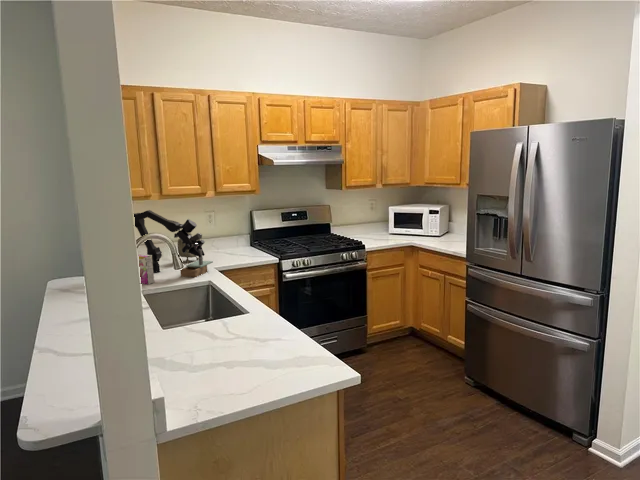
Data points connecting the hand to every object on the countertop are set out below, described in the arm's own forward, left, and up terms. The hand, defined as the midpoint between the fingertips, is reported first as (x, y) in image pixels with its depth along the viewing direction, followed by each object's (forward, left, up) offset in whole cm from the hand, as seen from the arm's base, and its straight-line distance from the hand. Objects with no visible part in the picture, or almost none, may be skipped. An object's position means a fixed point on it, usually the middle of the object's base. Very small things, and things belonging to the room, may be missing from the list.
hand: (202, 256), depth 268 cm
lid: (+1, +6, -6) cm, 9 cm away
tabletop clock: (+12, +41, -11) cm, 44 cm away
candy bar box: (-35, +6, -11) cm, 37 cm away
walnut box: (-5, +2, -11) cm, 12 cm away
